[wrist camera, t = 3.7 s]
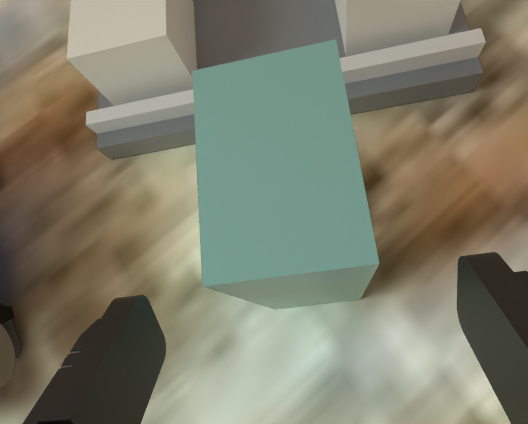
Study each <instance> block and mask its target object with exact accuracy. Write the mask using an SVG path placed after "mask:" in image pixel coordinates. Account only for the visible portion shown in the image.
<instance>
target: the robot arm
mask: <svg viewBox="0 0 528 424" xmlns="http://www.w3.org/2000/svg"><path fill="white" fill-rule="evenodd" d="M457 312H458V318H459V322H460V325H461V328H462V330H463V332H464V334H465V336H466V338H467V340H468V342H469V344H470V346H471V348H472V350H473V352H474V354H475V355H476V357H477V359H478V361H479V363H480V365H481V367H482V369H483V371H484V373H485V375H486V376H487V378H488V380H489V382H490V384H491V386H492V388H493V390H494V392H495V394H496V396H497V397H498V399H499V401H500V403H501V405H502V407H503V409H504V411H505V413H506V415H507V416H508V418H509V420H510V422H511V424H528V272H527V271H520V272H513V271H512V270H511V268H510V267H509V266H508V265H507V264H506V262H505V261H504V260H503V259H502V258H501V257H500V255H499V254H497V253H495V252H491V253H483V254H475V255H467V256H461V257H460V258H459V260H458V280H457ZM70 352H71V353H70V355H68V356H67V357H66V359H65V360H64V362H63V363H62V365H61V369H58V371H57V372H56V374H55V375H54V377H53V378H52V380H51V381H50V383H49V384H48V386H47V388H46V389H45V391H44V392H43V394H42V395H41V397H40V398H39V400H38V401H37V403H36V404H35V406H34V407H33V409H32V410H31V412H30V413H29V415H28V416H27V418H26V419H25V421H24V423H23V424H141V421H142V418H143V416H144V413H145V410H146V408H147V405H148V402H149V400H150V397H151V394H152V391H153V389H154V386H155V383H156V381H157V378H158V375H159V373H160V370H161V367H162V365H163V362H164V359H165V354H166V342H165V337H164V335H163V332H162V330H161V328H160V325H159V323H158V321H157V318H156V316H155V314H154V312H153V309H152V307H151V305H150V302H149V300H148V299H147V297H146V296H144V295H138V296H130V297H122V298H116V299H114V300H113V301H112V302H111V304H110V305H109V307H108V309H107V310H106V312H105V313H104V315H103V317H102V318H101V319H98V320H97V321H95V322H94V323H93V324H92V325H91V326H90V327H89V328H88V329H87V330H86V331H85V332H84V333H82V334H81V336H80V337H79V339H78V340H77V342H76V343H75V345H74V346H73V348H72V349H71V351H70Z"/></svg>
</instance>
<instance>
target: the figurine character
mask: <svg viewBox="0 0 528 424" xmlns="http://www.w3.org/2000/svg"><path fill="white" fill-rule="evenodd" d="M12 318H14V313H13V309H12V307H11V306H5V305H4V304H2V303H1V302H0V388H1V387H2V386H4V385H5V384H6V383H7V382H8V381H9V380H10V378H11V377H12V375H13V372H14V369H15V356H16V357H17V358H19V355H20V349H21V343H20V340H19V338H18V335H17V333H16V330H15V327H14V325H13V322H12V320H11V319H12Z"/></svg>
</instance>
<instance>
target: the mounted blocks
mask: <svg viewBox="0 0 528 424" xmlns="http://www.w3.org/2000/svg"><path fill="white" fill-rule="evenodd" d="M459 3H460V0H335V4H336V9H337V14H338V19H339V24H340V29H341V34H342V39H343V44H344V49H345V54H346V56H350V55H355V54H360V53H364V52H369V51H374V50H378V49H383V48H388V47H393V46H397V45H402V44H407V43H411V42H416V41H421V40H426V39H430V38H435V37H440V36H444V35H448V34H449V31H450V28H451V25H452V23H453V20H454V17H455V14H456V11H457V8H458V6H459ZM66 59H67V60H68V61H69V62H70V63H71V64H72V65H73V66H74V67H75V68H76V69H77V70H78V71H79V72H80V73H81V74H82V75H83V76H84V77H85V78H86V79H87V80H88V81H89V82H90V83H92V84H93V85H94V86H95V87H96V88H97V89H98V90H99V91H100V92H101V93H102V94H103V95H104V96H105V97H106V98H107V99H108V100H109V101H110V102H111V103H112V104H113V105H114V106H115V105H120V104H124V103H129V102H134V101H139V100H143V99H148V98H153V97H157V96H162V95H167V94H171V93H176V92H181V91H186V90H190V89H193V76H192V71H194V70H197V59H196V40H195V20H194V3H193V0H71V5H70V18H69V31H68V44H67V57H66Z"/></svg>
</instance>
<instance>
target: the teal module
mask: <svg viewBox="0 0 528 424" xmlns="http://www.w3.org/2000/svg"><path fill="white" fill-rule="evenodd" d="M192 76H193V97H194V118H195V139H196V160H197V181H198V202H199V223H200V244H201V265H202V286H203V287H206V288H209V289H212V290H215V291H218V292H222V293H225V294H228V295H231V296H234V297H237V298H241V299H244V300H247V301H250V302H253V303H256V304H260V305H263V306H266V307H269V308H272V309H282V308H291V307H299V306H308V305H317V304H325V303H334V302H343V301H351V300H360V299H361V297H362V295H363V294H364V292H365V290H366V288H367V286H368V284H369V282H370V281H371V279H372V277H373V275H374V273H375V271H376V269H377V268H378V266H379V259H378V253H377V248H376V243H375V238H374V233H373V228H372V223H371V217H370V212H369V207H368V202H367V197H366V192H365V186H364V181H363V176H362V171H361V166H360V161H359V156H358V150H357V145H356V140H355V135H354V130H353V125H352V119H351V114H350V109H349V104H348V99H347V94H346V89H345V83H344V78H343V73H342V68H341V63H340V58H339V52H338V47H337V42H336V39H335V40H330V41H326V42H321V43H317V44H312V45H308V46H303V47H299V48H294V49H289V50H285V51H280V52H276V53H271V54H267V55H262V56H258V57H253V58H249V59H244V60H240V61H235V62H231V63H226V64H221V65H217V66H212V67H208V68H203V69H199V70H194V71H192Z"/></svg>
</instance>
